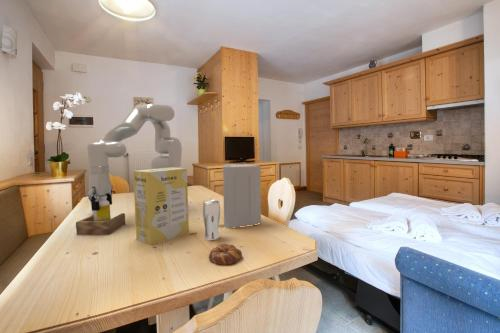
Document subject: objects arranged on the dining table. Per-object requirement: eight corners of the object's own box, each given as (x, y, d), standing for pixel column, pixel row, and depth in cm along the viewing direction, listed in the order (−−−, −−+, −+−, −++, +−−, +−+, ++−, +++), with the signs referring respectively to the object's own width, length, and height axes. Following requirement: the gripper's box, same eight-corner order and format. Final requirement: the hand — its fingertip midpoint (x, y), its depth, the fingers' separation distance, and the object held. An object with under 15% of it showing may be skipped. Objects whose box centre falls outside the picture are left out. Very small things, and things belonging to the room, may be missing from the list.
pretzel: (204, 254, 89) (204, 244, 89) (233, 249, 93) (233, 239, 93) (213, 269, 78) (213, 257, 78) (246, 262, 82) (246, 251, 82)
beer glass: (223, 235, 106) (222, 200, 105) (215, 242, 100) (214, 204, 98) (208, 234, 109) (207, 199, 107) (200, 240, 102) (199, 203, 101)
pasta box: (174, 227, 118) (171, 167, 116) (188, 231, 112) (186, 168, 109) (136, 239, 103) (133, 170, 101) (151, 245, 97) (147, 172, 95)
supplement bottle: (114, 222, 118) (112, 195, 117) (100, 226, 112) (98, 198, 111) (104, 220, 121) (102, 194, 120) (90, 225, 115) (88, 196, 114)
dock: (125, 224, 123) (124, 213, 123) (108, 234, 109) (108, 222, 109) (96, 224, 123) (96, 213, 123) (76, 234, 109) (75, 222, 109)
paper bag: (211, 224, 122) (209, 166, 119) (231, 217, 134) (230, 164, 131) (243, 232, 111) (242, 168, 108) (261, 223, 123) (261, 165, 120)
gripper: (102, 168, 123) (105, 202, 125) (77, 172, 106) (81, 213, 107) (117, 167, 123) (120, 202, 124) (95, 172, 105) (99, 212, 107)
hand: (102, 207), depth 116 cm, fingers open, 9 cm apart
